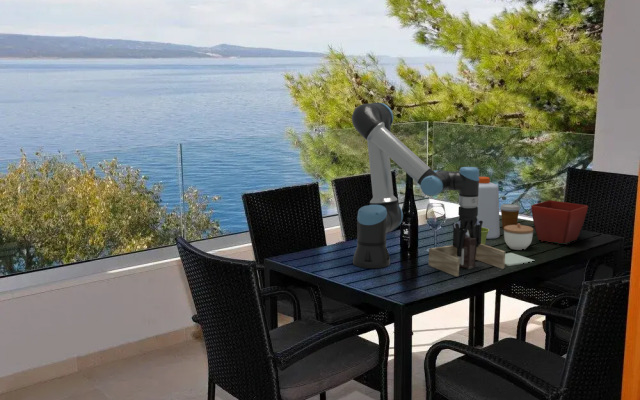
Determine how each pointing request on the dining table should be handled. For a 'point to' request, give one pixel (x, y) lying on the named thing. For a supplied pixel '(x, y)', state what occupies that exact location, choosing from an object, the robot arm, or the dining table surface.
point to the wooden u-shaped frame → (449, 260)
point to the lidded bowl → (518, 236)
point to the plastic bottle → (488, 207)
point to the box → (469, 252)
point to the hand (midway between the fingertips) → (466, 263)
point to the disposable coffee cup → (509, 214)
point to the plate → (515, 259)
